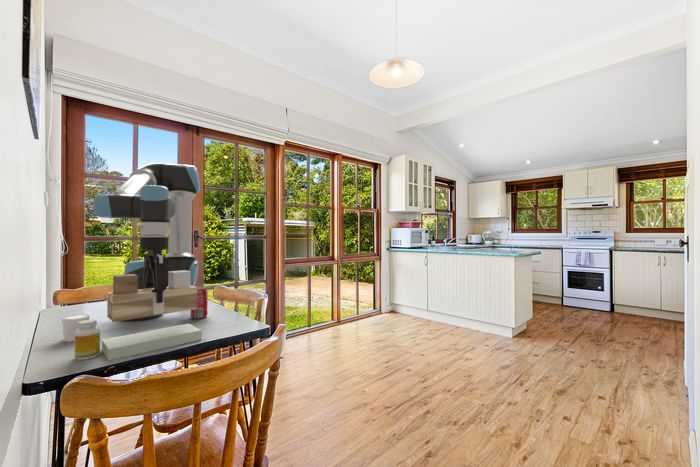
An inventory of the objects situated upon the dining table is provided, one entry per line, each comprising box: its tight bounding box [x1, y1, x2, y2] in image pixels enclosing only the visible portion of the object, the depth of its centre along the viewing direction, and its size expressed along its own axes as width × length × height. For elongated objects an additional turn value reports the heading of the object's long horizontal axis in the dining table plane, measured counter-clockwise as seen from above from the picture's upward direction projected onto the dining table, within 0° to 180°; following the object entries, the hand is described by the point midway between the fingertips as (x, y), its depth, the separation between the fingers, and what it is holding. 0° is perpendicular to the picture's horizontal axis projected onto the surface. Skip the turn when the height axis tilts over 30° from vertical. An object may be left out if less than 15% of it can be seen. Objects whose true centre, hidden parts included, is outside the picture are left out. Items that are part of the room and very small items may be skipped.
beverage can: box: [190, 286, 209, 320], centre depth 130 cm, size 6×6×12 cm
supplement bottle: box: [74, 319, 101, 361], centre depth 88 cm, size 5×5×10 cm
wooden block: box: [106, 285, 198, 323], centre depth 98 cm, size 8×22×7 cm, turn 136°
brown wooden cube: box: [112, 274, 138, 295], centre depth 93 cm, size 5×5×5 cm
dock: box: [101, 323, 203, 361], centre depth 98 cm, size 11×24×3 cm, turn 136°
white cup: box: [61, 314, 91, 342], centre depth 104 cm, size 7×7×7 cm
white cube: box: [168, 270, 191, 289], centre depth 103 cm, size 5×5×5 cm
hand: (154, 311), depth 98 cm, fingers closed on wooden block, 8 cm apart
